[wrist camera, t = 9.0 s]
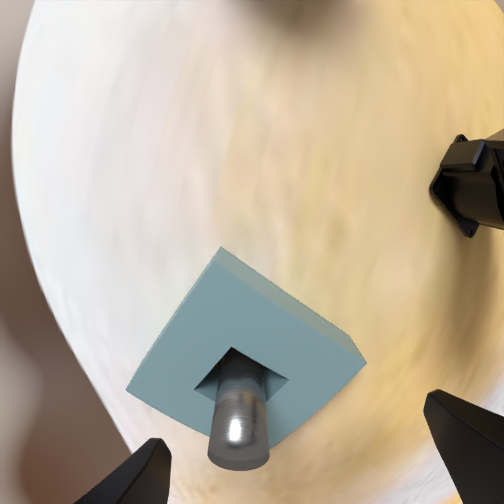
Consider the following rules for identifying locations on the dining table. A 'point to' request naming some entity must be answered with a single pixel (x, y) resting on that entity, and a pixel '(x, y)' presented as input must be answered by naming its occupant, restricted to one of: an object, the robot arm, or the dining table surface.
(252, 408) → the peg
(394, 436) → the dining table surface
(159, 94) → the dining table surface
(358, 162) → the dining table surface
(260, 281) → the hole block
